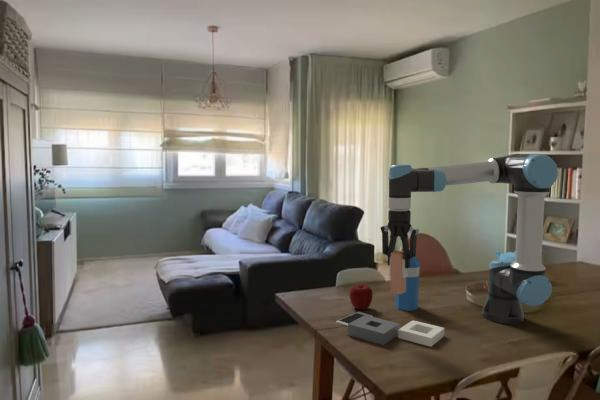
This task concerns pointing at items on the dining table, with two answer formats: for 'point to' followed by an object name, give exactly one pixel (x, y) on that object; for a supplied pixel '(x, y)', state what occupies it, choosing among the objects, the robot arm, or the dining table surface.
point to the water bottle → (410, 288)
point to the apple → (361, 296)
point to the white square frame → (421, 333)
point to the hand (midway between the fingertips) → (398, 275)
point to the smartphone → (351, 318)
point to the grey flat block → (373, 329)
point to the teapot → (506, 256)
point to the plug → (397, 273)
